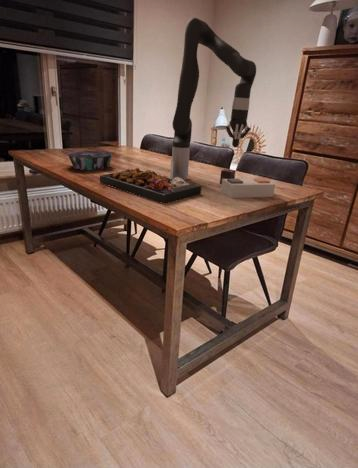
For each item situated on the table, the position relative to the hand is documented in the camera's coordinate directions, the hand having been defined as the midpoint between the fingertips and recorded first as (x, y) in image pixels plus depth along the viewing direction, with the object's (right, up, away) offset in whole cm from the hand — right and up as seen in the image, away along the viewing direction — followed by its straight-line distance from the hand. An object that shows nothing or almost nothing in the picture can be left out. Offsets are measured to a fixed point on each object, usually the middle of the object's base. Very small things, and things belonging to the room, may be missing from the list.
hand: (235, 147), depth 156 cm
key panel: (+6, -22, +1) cm, 23 cm away
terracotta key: (+13, -19, +2) cm, 23 cm away
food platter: (-42, -20, +2) cm, 47 cm away
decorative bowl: (-80, -2, +40) cm, 90 cm away
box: (-1, -15, +19) cm, 24 cm away
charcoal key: (-1, -20, -2) cm, 20 cm away
